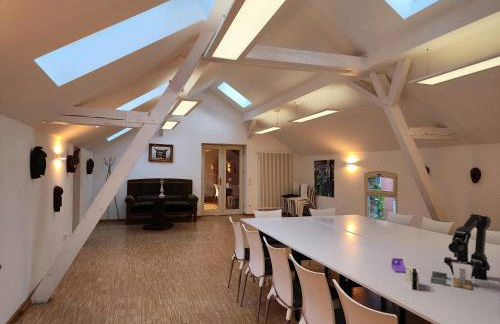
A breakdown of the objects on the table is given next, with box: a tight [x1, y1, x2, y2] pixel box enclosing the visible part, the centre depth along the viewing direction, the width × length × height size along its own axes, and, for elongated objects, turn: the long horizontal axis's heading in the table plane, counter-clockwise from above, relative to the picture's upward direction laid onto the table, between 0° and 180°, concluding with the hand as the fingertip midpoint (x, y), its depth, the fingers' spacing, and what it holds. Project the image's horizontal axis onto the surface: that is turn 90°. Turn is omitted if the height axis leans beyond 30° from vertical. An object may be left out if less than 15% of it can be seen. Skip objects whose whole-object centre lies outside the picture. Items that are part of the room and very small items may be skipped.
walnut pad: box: [452, 277, 473, 291], centre depth 193 cm, size 9×16×1 cm, turn 148°
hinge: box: [405, 265, 420, 291], centre depth 189 cm, size 14×5×10 cm, turn 168°
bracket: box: [390, 257, 406, 274], centre depth 218 cm, size 12×7×7 cm, turn 168°
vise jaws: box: [430, 270, 448, 286], centre depth 199 cm, size 8×16×3 cm, turn 148°
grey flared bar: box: [458, 268, 467, 285], centre depth 193 cm, size 3×8×8 cm, turn 147°
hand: (462, 276), depth 193 cm, fingers open, 9 cm apart
